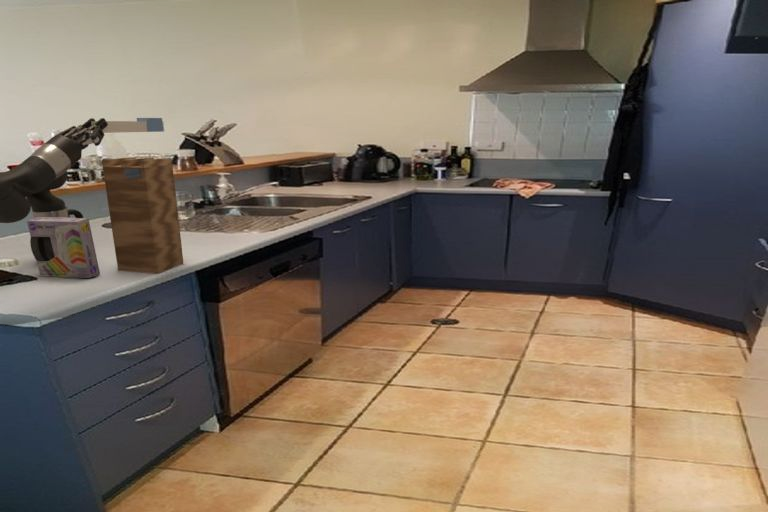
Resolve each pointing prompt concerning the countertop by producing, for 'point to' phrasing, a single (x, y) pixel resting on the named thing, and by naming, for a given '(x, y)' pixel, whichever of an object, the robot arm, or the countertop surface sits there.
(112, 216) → the wood grain block
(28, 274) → the countertop surface
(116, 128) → the cream and blue bar
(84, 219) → the cake pan box
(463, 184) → the countertop surface
